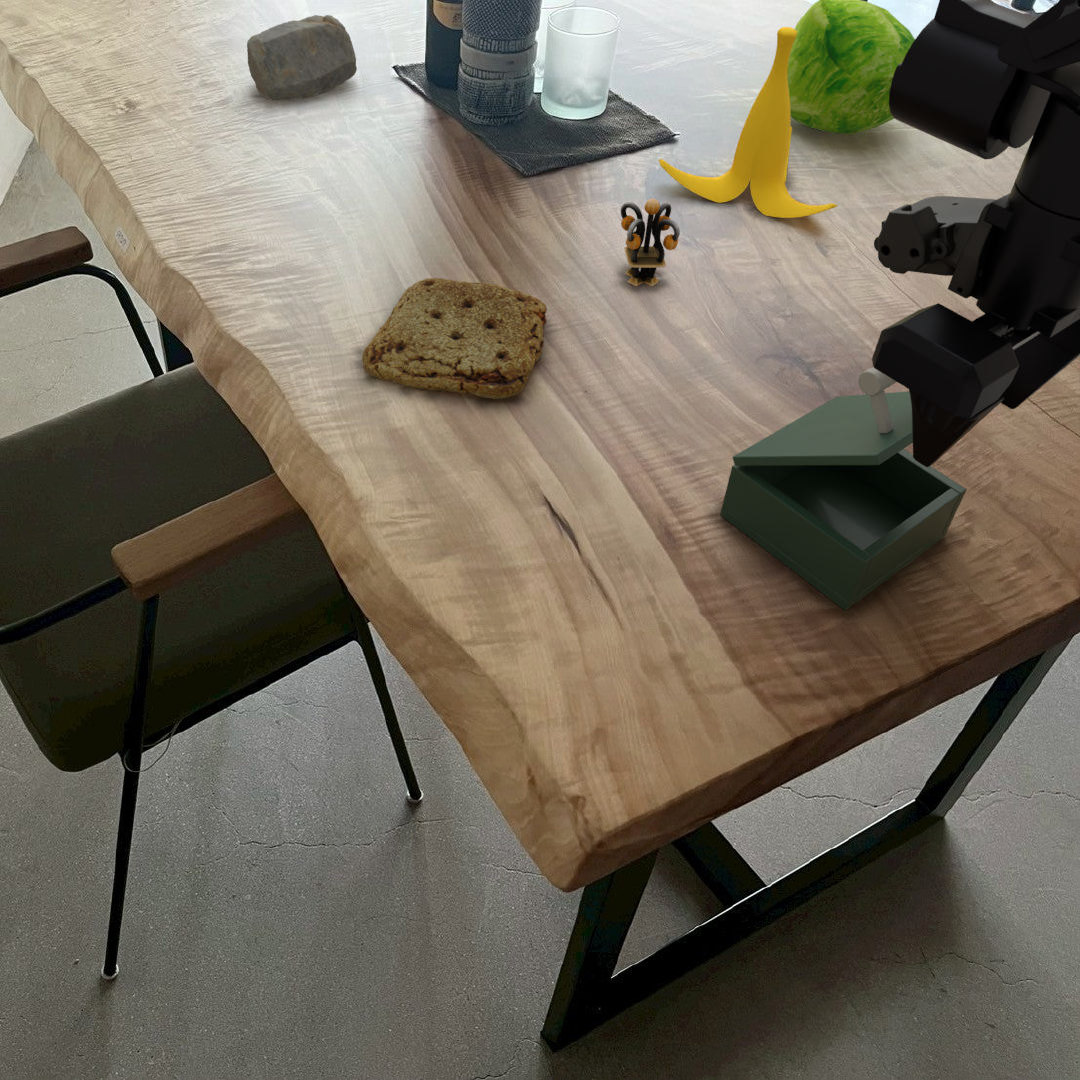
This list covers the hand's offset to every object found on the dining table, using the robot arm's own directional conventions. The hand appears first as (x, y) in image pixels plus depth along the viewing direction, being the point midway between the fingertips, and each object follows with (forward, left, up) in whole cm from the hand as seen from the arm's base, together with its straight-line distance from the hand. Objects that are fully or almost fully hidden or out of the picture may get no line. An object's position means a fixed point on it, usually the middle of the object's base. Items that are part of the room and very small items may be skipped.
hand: (966, 432), depth 64 cm
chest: (+4, -5, -13) cm, 14 cm away
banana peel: (+3, -54, -13) cm, 55 cm away
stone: (+56, -74, -13) cm, 93 cm away
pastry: (+33, -24, -13) cm, 43 cm away
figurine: (+17, -37, -13) cm, 42 cm away
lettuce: (-7, -75, -13) cm, 76 cm away
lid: (+5, -5, -4) cm, 8 cm away
